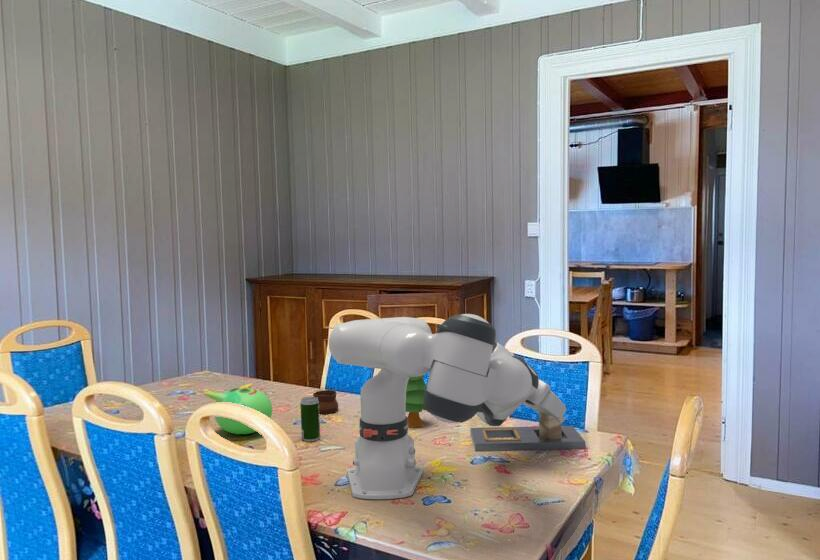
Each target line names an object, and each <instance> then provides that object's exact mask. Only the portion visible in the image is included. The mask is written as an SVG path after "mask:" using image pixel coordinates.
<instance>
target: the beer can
mask: <svg viewBox="0 0 820 560" xmlns="http://www.w3.org/2000/svg"><path fill="white" fill-rule="evenodd" d="M299 404H300V425H301V427H300V429H301V430H300V431H301V432H300V433H301V439H302V441H303V440H304V442H306V441H309V442H310V443H311V441H313V442H317V441H318V439H319V440H320V437H321V424H320V420H321V418H320V415H319V401H318V398H317V397H314V396H305V397H302V398H300V403H299Z"/></svg>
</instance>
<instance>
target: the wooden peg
mask: <svg viewBox="0 0 820 560" xmlns="http://www.w3.org/2000/svg"><path fill="white" fill-rule="evenodd" d="M538 418H539V419H538V424H539V425H538V426H539V436H538V438H539V439H556V438H562V426H563V425H562V424H563V423H561V422H558V421H557V420H556V419H555V417H552V416H550V415H547V414H545V413H542V412H540V411H539V413H538Z"/></svg>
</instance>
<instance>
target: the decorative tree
mask: <svg viewBox="0 0 820 560" xmlns="http://www.w3.org/2000/svg"><path fill="white" fill-rule="evenodd" d="M425 375H426V374H424V375H422V376H418V377H409V380H408V383H407V388H406V413H408V415H407V420H408V427H409V428H421V427H423V426H424V425H425V422H424V421H423V420H422V419H421V417H420V413H421V412H423V411H426V409H425V407H424V392H425V390H427V383H425V380H424V378H426V376H425ZM423 424H424V425H423ZM422 425H423V426H422Z"/></svg>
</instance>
